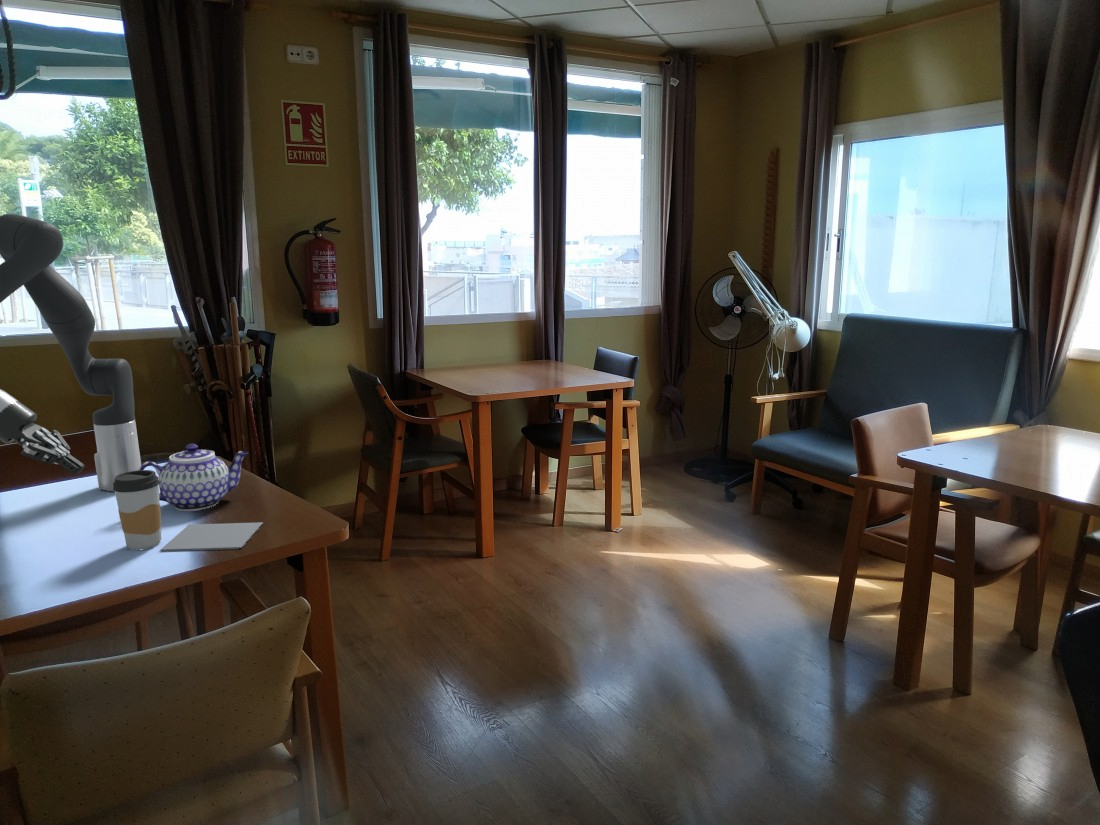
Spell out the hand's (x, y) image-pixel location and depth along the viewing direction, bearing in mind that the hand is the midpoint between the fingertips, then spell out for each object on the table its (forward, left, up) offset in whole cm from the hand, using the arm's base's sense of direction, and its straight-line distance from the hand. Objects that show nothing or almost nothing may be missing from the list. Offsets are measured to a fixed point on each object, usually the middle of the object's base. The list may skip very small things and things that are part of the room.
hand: (80, 470), depth 148 cm
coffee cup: (+10, +2, -17) cm, 20 cm away
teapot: (+11, +27, -17) cm, 33 cm away
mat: (+23, +5, -17) cm, 28 cm away
